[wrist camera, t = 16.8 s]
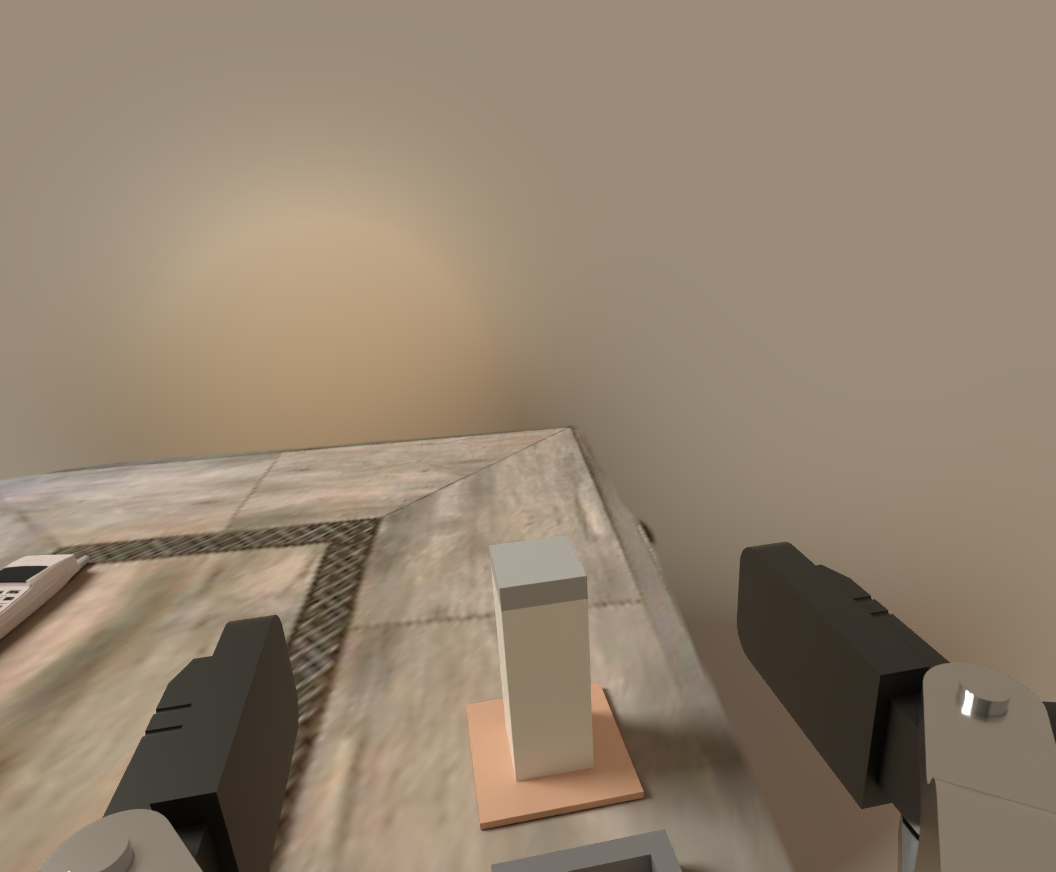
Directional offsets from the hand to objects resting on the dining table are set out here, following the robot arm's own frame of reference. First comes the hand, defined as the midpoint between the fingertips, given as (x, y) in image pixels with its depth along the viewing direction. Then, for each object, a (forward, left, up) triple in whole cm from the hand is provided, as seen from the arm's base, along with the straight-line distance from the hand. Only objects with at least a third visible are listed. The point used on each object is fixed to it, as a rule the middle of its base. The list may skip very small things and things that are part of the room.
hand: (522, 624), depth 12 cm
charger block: (+4, +25, -28) cm, 37 cm away
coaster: (+4, +25, -28) cm, 38 cm away
